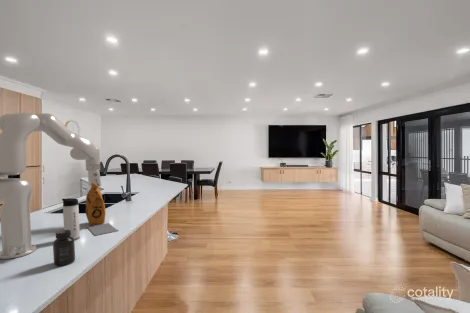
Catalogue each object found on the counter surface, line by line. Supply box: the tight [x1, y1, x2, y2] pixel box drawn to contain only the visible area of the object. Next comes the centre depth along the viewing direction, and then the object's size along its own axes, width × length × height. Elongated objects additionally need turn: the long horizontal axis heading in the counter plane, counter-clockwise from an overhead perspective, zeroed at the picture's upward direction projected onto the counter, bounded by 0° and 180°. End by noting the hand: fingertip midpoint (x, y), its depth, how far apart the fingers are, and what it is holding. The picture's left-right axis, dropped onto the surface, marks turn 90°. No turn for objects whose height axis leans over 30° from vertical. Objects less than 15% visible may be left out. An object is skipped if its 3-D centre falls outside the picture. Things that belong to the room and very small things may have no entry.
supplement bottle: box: [52, 229, 76, 267], centre depth 98 cm, size 7×7×12 cm
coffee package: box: [84, 182, 106, 226], centre depth 147 cm, size 10×12×22 cm
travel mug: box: [61, 197, 81, 241], centre depth 124 cm, size 6×7×20 cm
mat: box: [87, 222, 119, 237], centre depth 139 cm, size 19×11×1 cm, turn 40°
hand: (94, 198), depth 152 cm, fingers closed
